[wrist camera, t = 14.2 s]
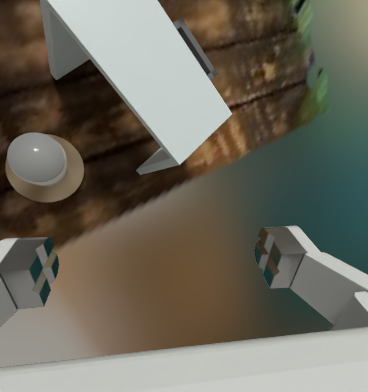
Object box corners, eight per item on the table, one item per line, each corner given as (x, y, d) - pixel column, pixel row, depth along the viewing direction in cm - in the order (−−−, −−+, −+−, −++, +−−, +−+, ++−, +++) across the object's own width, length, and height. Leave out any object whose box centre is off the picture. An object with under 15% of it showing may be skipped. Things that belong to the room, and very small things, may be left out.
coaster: (1, 198, 30) (0, 198, 29) (11, 127, 30) (10, 126, 30) (79, 205, 34) (79, 205, 33) (87, 143, 34) (87, 142, 34)
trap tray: (170, 113, 40) (178, 107, 37) (130, 59, 37) (135, 48, 34) (208, 81, 43) (217, 74, 40) (173, 29, 40) (181, 17, 37)
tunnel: (140, 174, 37) (179, 164, 24) (50, 73, 32) (38, -12, 19) (178, 140, 40) (232, 113, 27) (101, 41, 35) (122, -53, 21)
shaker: (22, 183, 30) (0, 179, 20) (28, 146, 30) (8, 124, 21) (64, 189, 32) (63, 187, 22) (69, 154, 33) (69, 137, 23)
